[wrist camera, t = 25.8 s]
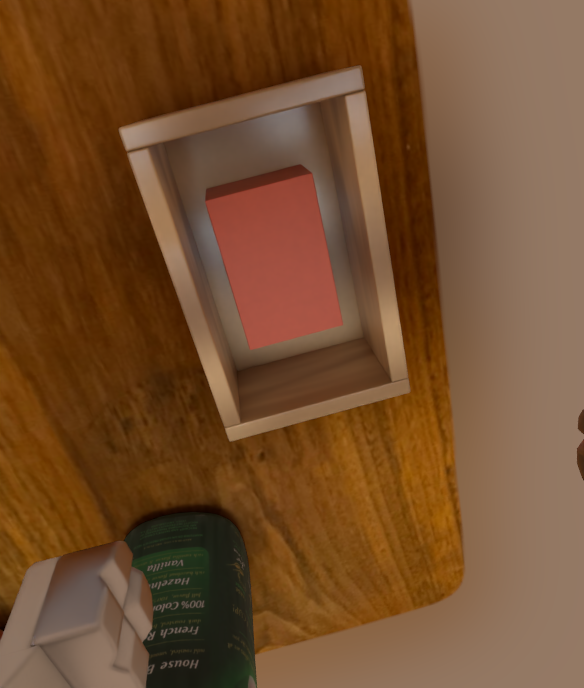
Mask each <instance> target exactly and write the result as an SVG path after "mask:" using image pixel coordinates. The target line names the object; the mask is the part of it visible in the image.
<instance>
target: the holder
mask: <svg viewBox="0 0 584 688" xmlns="http://www.w3.org/2000/svg"><path fill="white" fill-rule="evenodd" d="M364 88H365V85H364V78H363V71H362V67H361V66H360V65H357V66H352V67H348V68H343V69H338V70H334V71H329V72H325V73H321V74H317V75H313V76H310V77H306V78H302V79H298V80H294V81H290V82H286V83H283V84H279V85H275V86H271V87H267V88H263V89H260V90H256V91H252V92H248V93H244V94H240V95H237V96H233V97H229V98H225V99H221V100H217V101H213V102H210V103H206V104H202V105H198V106H194V107H190V108H187V109H183V110H179V111H175V112H171V113H167V114H164V115H160V116H156V117H152V118H148V119H144V120H140V121H138V122H135V123H132V124H129V125H126V126H123V127H120V128H119V134H120V136H121V139H122V142H123V145H124V148H125V150H126V151H129V152H128V153H127V156H128V159H129V162H130V164H131V167H132V170H133V173H134V176H135V178H136V181H137V184H138V187H139V190H140V192H141V195H142V198H143V201H144V204H145V206H146V209H147V212H148V215H149V218H150V220H151V223H152V226H153V229H154V232H155V234H156V237H157V240H158V243H159V246H160V248H161V251H162V254H163V257H164V260H165V262H166V265H167V268H168V271H169V274H170V276H171V279H172V282H173V285H174V288H175V290H176V293H177V296H178V299H179V302H180V304H181V307H182V310H183V313H184V316H185V318H186V321H187V324H188V327H189V330H190V332H191V335H192V338H193V341H194V344H195V346H196V349H197V352H198V355H199V358H200V360H201V363H202V366H203V369H204V372H205V374H206V377H207V380H208V383H209V386H210V388H211V391H212V394H213V397H214V400H215V402H216V405H217V408H218V411H219V414H220V416H221V419H222V422H223V425H224V426H225V431H226V433H227V436H228V439H229V441H234V440H238V439H242V438H245V437H249V436H252V435H256V434H260V433H263V432H267V431H271V430H274V429H278V428H282V427H285V426H289V425H293V424H296V423H300V422H304V421H307V420H311V419H315V418H318V417H322V416H326V415H329V414H333V413H337V412H340V411H344V410H347V409H351V408H355V407H358V406H362V405H366V404H369V403H373V402H377V401H380V400H384V399H388V398H391V397H395V396H399V395H402V394H406V393H409V392H410V386H409V379H408V373H407V366H406V359H405V352H404V346H403V339H402V332H401V326H400V319H399V312H398V305H397V299H396V292H395V285H394V279H393V272H392V265H391V259H390V252H389V245H388V238H387V232H386V225H385V218H384V212H383V205H382V198H381V191H380V185H379V178H378V171H377V165H376V158H375V151H374V144H373V138H372V131H371V124H370V118H369V111H368V104H367V97H366V92H365V91H364ZM299 164H301V165H303V166H304V167H305V168H307V169H308V170H309V171H310V172H312V174H313V178H314V183H315V188H316V193H317V198H318V203H319V208H320V213H321V218H322V222H323V227H324V232H325V237H326V242H327V247H328V252H329V257H330V262H331V266H332V271H333V276H334V281H335V286H336V291H337V296H338V301H339V306H340V310H341V315H342V320H343V325H342V326H338V327H334V328H331V329H327V330H323V331H320V332H316V333H312V334H309V335H305V336H301V337H297V338H294V339H290V340H286V341H283V342H279V343H275V344H271V345H268V346H264V347H260V348H257V349H253V350H250V349H249V346H248V342H247V339H246V336H245V333H244V329H243V326H242V323H241V319H240V316H239V313H238V309H237V306H236V303H235V300H234V296H233V293H232V290H231V286H230V283H229V280H228V277H227V273H226V270H225V267H224V263H223V260H222V257H221V253H220V250H219V247H218V244H217V240H216V237H215V234H214V230H213V227H212V224H211V221H210V217H209V214H208V211H207V207H206V204H205V195H206V189H208V188H212V187H216V186H220V185H223V184H227V183H231V182H235V181H239V180H242V179H246V178H250V177H254V176H258V175H261V174H265V173H269V172H273V171H277V170H280V169H284V168H288V167H292V166H296V165H299Z"/></svg>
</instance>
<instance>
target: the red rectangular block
mask: <svg viewBox="0 0 584 688" xmlns="http://www.w3.org/2000/svg"><path fill="white" fill-rule="evenodd" d="M205 204H206V207H207V211H208V214H209V217H210V221H211V224H212V227H213V230H214V234H215V237H216V240H217V244H218V247H219V250H220V253H221V257H222V260H223V263H224V267H225V270H226V273H227V277H228V280H229V283H230V286H231V290H232V293H233V296H234V300H235V303H236V306H237V309H238V313H239V316H240V319H241V323H242V326H243V329H244V333H245V336H246V339H247V342H248V346H249V349H250V350H253V349H257V348H260V347H264V346H268V345H271V344H275V343H279V342H283V341H286V340H290V339H294V338H297V337H301V336H305V335H309V334H312V333H316V332H320V331H323V330H327V329H331V328H334V327H338V326H342V325H343V320H342V315H341V310H340V306H339V301H338V296H337V291H336V286H335V281H334V276H333V271H332V266H331V262H330V257H329V252H328V247H327V242H326V237H325V232H324V227H323V222H322V218H321V213H320V208H319V203H318V198H317V193H316V188H315V183H314V178H313V174H312V172H310V171H309V170H308V169H307V168H305V167H304V166H303V165H301V164H299V165H296V166H292V167H288V168H284V169H280V170H277V171H273V172H269V173H265V174H261V175H258V176H254V177H250V178H246V179H242V180H239V181H235V182H231V183H227V184H223V185H220V186H216V187H212V188H208V189H206V195H205Z"/></svg>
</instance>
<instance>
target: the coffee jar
mask: <svg viewBox="0 0 584 688" xmlns="http://www.w3.org/2000/svg"><path fill="white" fill-rule="evenodd" d="M124 541H125V542H126V544H127V545H128V547H129V548H130V550H131V552H132V553H133V558H132V565H131V567H134V568H136V569H138V570H140V571H142V572H143V573H144V575H145V577H146V579H147V581H148V584H149V587H150V590H151V594H152V603H153V622H152V629H151V631H150V632H149V633H148V635H147V636H146V638H145V639H144V641H143V642H142V643H143V645H144V646H145V648H146V650H147V651H148V653H149V662H148V671H147V680H146V688H257V681H256V666H255V651H254V635H253V614H252V598H251V584H250V572H249V564H248V558H247V553H246V549H245V546H244V542H243V540H242V537H241V535H240V532H239V530H238V529H237V527H236V526H235V525H234V524H233V523H232V522H231V521H230V520H229V519H226V518H224V517H222V516H220V515H216V514H212V513H199V512H186V513H175V514H171V515H165V516H161V517H158V518H156V519H153V520H150V521H147V522H144V523H142V524H140V525H139V526H137V527H136V528H135V529H133V530H132V531H131V532H130V533H129V534H128V535H127V536H126V538H125V540H124Z"/></svg>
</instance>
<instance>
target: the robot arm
mask: <svg viewBox="0 0 584 688" xmlns="http://www.w3.org/2000/svg"><path fill="white" fill-rule="evenodd" d="M578 429H579V430H580V431H581V432H582V433H583V434H584V410H582V412H581V414H580V416H579V420H578ZM577 464H578V467H579V470H580V473H581V476H582V478H583V480H584V440H583V441H582V443H581V444H580V445H579V447H578V448H577ZM132 558H133V553H132V552H131V550H130V548H129V547H128V545H127V544H126V542H125V541H116V542H112V543H108V544H104V545H100V546H96V547H92V548H88V549H84V550H80V551H76V552H73V553H69V554H65V555H63V556H60V557H56V558H52V559H48V560H44V561H40V562H36V563H34V564H33V565H32V566H31V567H30V568H29V569H28V570H27V572H26V574H25V577H24V579H23V582H22V585H21V587H20V590H19V593H18V595H17V598H16V601H15V603H14V606H13V608H12V611H11V614H10V616H9V619H8V622H7V624H6V627H5V630H4V632H3V635H2V638H1V640H0V688H146V680H147V671H148V662H149V653H148V651H147V650H146V648H145V646H144V645H143V643H142V642H143V641H144V639H145V638H146V636H147V635H148V633H149V632H150V631H151V629H152V622H153V603H152V594H151V590H150V587H149V584H148V581H147V579H146V577H145V575H144V573H143V572H142V571H140V570H138V569H136V568H134V567H131V565H132Z"/></svg>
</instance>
